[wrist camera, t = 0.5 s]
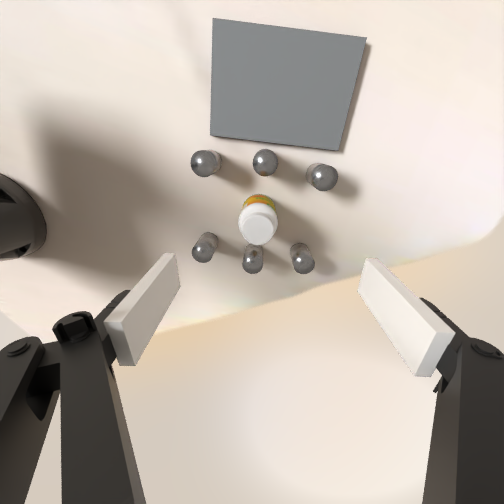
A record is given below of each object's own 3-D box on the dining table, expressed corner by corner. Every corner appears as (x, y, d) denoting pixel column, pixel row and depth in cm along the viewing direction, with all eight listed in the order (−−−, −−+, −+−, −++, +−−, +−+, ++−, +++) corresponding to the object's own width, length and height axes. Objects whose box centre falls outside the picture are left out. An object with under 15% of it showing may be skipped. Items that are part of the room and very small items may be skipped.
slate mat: (211, 135, 31) (210, 135, 31) (214, 22, 26) (212, 17, 25) (336, 150, 32) (338, 150, 31) (363, 41, 26) (366, 37, 26)
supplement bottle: (281, 203, 35) (288, 222, 27) (264, 231, 37) (266, 257, 29) (251, 187, 34) (248, 201, 26) (236, 216, 36) (228, 238, 28)
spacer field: (199, 253, 40) (191, 266, 35) (200, 141, 32) (190, 140, 27) (305, 265, 40) (310, 280, 35) (331, 156, 32) (343, 158, 28)
